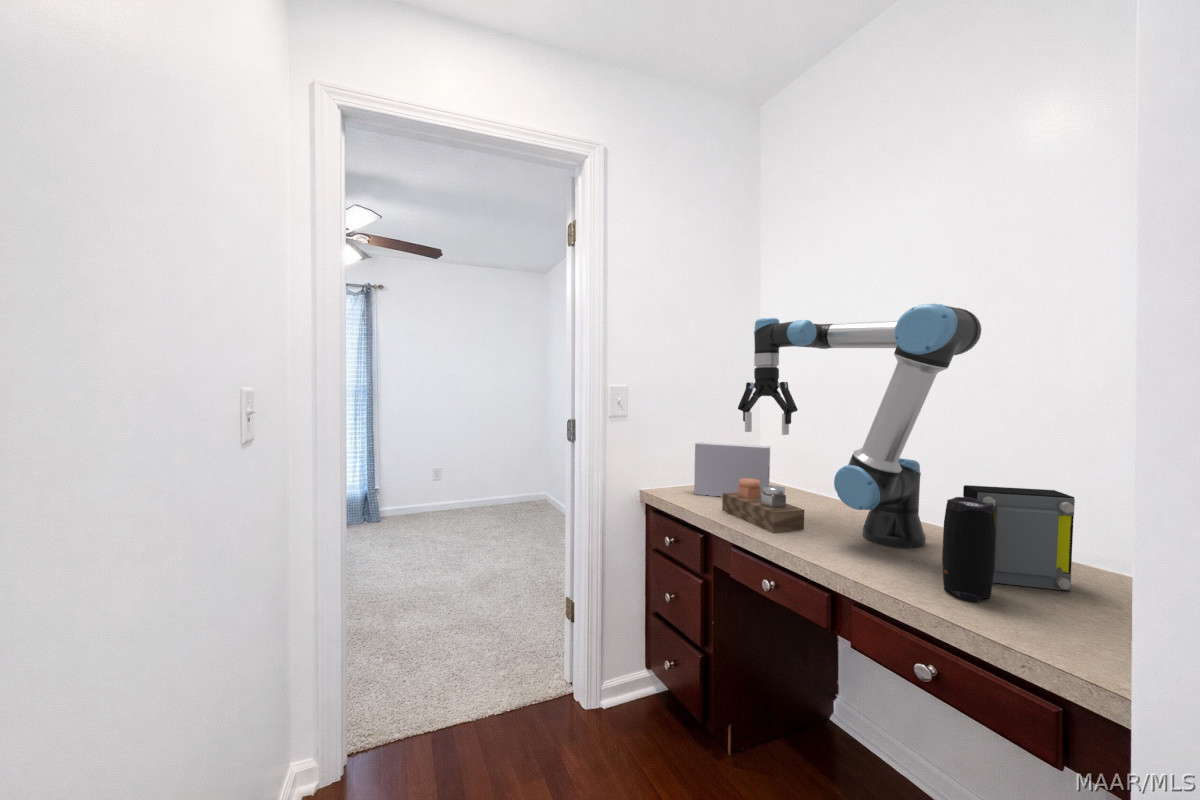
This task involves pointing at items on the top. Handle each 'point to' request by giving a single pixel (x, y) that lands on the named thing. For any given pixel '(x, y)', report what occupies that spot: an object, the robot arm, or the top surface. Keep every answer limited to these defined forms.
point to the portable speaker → (968, 548)
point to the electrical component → (1030, 535)
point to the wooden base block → (764, 513)
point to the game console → (729, 467)
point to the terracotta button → (749, 488)
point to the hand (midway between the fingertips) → (766, 433)
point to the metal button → (773, 496)
